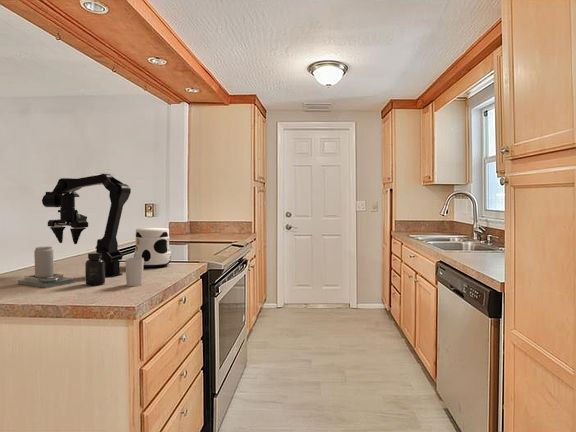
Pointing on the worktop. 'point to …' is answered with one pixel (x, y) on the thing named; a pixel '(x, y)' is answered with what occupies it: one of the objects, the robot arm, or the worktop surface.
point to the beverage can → (43, 262)
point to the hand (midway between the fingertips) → (68, 243)
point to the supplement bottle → (95, 269)
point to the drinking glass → (134, 271)
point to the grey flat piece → (46, 281)
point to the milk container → (153, 246)
